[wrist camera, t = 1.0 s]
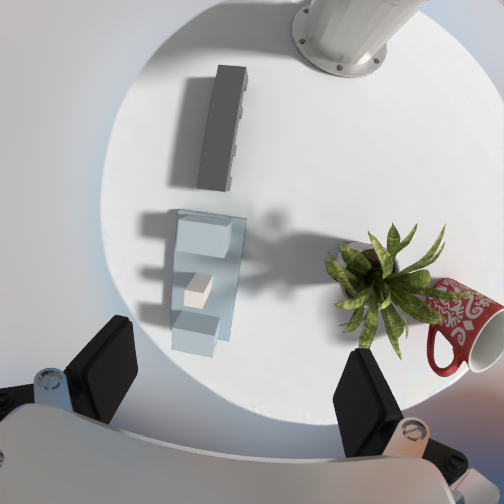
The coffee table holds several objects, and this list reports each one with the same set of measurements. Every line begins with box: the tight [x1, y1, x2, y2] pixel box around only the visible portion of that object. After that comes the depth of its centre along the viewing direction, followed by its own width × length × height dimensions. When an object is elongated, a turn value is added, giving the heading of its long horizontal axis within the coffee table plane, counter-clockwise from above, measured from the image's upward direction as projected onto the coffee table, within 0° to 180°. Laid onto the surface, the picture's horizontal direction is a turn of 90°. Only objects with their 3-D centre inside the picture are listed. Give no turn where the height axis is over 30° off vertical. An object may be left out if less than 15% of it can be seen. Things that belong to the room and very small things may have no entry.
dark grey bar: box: [197, 65, 248, 192], centre depth 28 cm, size 14×3×4 cm, turn 171°
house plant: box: [324, 223, 477, 359], centre depth 25 cm, size 14×14×16 cm
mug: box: [426, 279, 504, 377], centre depth 28 cm, size 13×9×14 cm
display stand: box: [171, 209, 247, 358], centre depth 31 cm, size 16×8×7 cm, turn 171°
